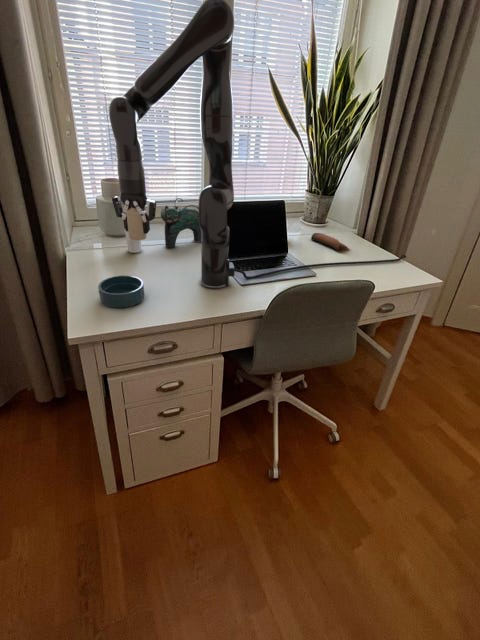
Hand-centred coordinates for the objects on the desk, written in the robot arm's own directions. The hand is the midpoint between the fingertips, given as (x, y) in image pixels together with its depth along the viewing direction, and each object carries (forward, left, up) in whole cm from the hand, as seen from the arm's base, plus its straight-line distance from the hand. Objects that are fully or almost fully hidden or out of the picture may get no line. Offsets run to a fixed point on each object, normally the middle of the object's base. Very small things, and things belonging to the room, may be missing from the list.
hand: (137, 231), depth 112 cm
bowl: (+5, +13, -17) cm, 22 cm away
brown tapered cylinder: (-84, -36, -18) cm, 93 cm away
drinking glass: (+5, -28, -18) cm, 33 cm away
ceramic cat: (-15, -37, -18) cm, 44 cm away
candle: (0, 0, -2) cm, 2 cm away
